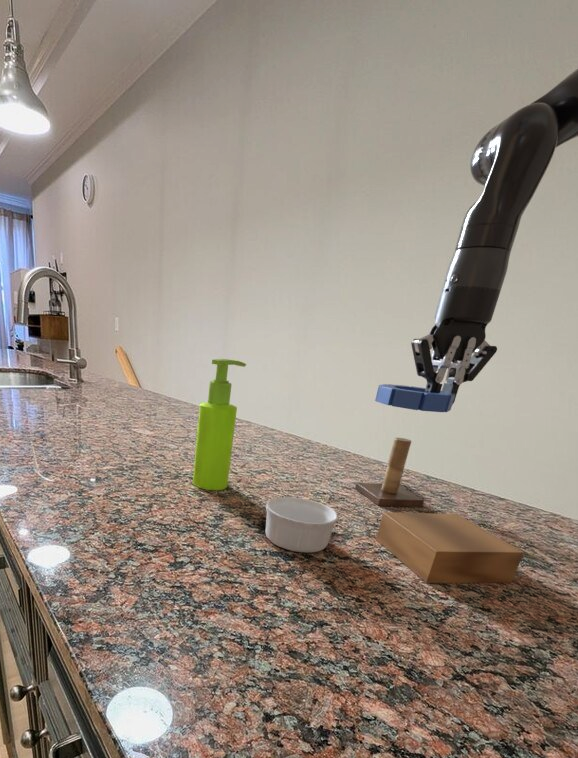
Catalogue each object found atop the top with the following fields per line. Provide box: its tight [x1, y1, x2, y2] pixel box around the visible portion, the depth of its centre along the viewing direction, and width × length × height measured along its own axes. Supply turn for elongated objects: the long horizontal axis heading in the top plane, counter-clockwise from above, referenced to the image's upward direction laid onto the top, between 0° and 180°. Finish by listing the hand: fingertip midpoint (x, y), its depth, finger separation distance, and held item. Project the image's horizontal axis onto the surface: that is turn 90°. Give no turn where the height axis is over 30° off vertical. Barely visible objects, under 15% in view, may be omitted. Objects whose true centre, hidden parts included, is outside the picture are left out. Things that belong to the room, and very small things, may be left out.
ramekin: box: [264, 496, 339, 554], centre depth 57 cm, size 9×9×4 cm
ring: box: [374, 383, 455, 413], centre depth 70 cm, size 11×11×2 cm
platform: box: [375, 511, 525, 584], centre depth 55 cm, size 11×11×4 cm
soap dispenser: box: [192, 358, 247, 491], centre depth 72 cm, size 6×7×20 cm
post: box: [354, 437, 425, 508], centre depth 75 cm, size 8×8×10 cm
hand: (436, 406), depth 72 cm, fingers closed on ring, 2 cm apart
